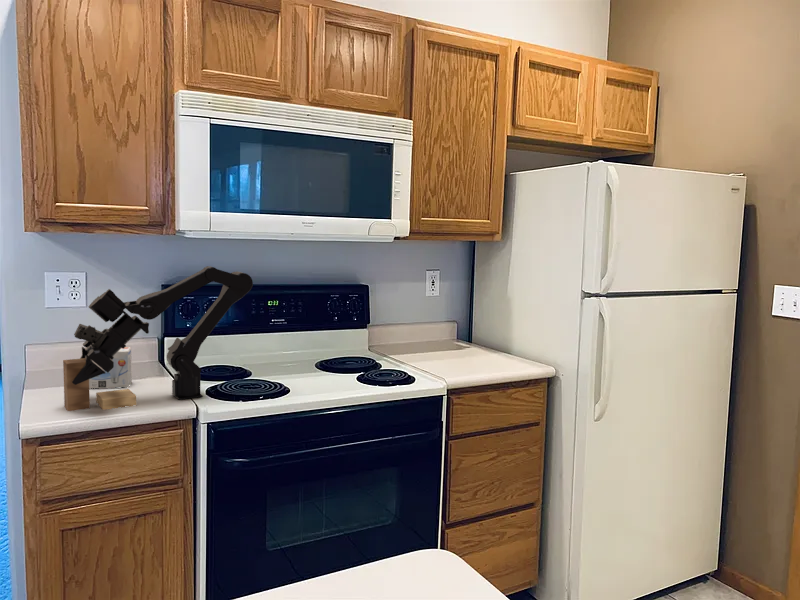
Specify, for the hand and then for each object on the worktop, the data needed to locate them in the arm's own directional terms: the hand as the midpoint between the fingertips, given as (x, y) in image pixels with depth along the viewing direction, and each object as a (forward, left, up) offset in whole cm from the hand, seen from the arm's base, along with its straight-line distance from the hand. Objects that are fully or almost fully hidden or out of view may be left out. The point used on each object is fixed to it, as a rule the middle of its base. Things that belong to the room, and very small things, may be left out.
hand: (72, 379), depth 162 cm
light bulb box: (-13, -19, -8) cm, 24 cm away
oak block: (-10, +2, -8) cm, 13 cm away
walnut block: (-1, 0, -7) cm, 7 cm away
